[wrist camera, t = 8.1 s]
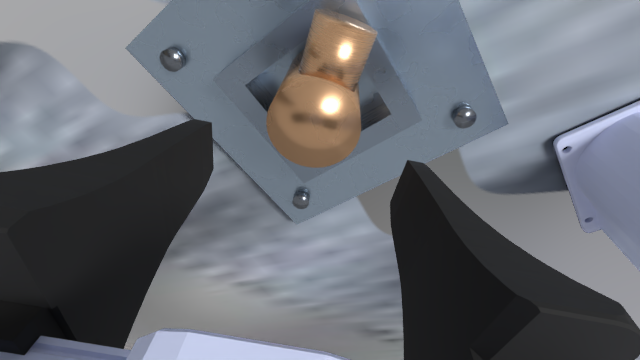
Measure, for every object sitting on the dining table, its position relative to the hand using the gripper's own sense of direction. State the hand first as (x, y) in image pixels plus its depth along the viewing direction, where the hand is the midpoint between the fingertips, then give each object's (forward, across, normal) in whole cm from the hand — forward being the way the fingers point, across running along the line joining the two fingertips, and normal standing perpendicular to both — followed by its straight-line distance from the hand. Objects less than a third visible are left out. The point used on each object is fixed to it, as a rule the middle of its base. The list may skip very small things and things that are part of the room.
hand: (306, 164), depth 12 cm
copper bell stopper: (+8, 0, 0) cm, 8 cm away
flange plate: (+9, 0, 0) cm, 9 cm away
